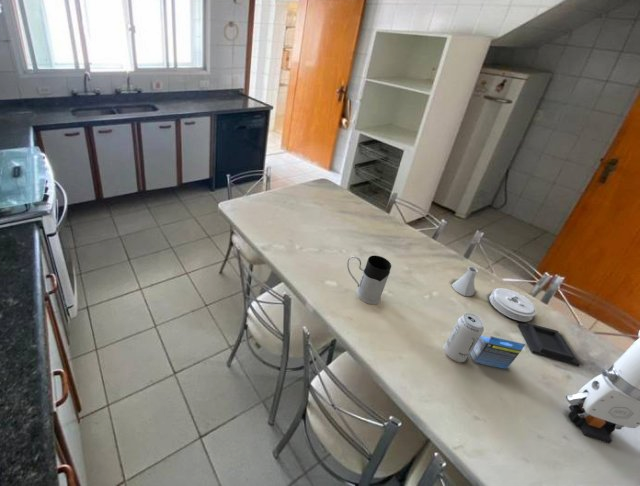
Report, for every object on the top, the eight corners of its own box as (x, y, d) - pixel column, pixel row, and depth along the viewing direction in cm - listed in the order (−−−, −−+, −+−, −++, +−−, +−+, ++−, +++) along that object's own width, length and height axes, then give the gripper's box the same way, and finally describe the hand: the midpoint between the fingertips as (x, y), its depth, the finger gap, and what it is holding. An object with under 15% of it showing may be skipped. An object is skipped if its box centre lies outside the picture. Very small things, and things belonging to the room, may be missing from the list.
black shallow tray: (559, 336, 107) (563, 331, 106) (578, 366, 98) (583, 361, 97) (517, 325, 110) (520, 319, 109) (531, 352, 101) (535, 347, 100)
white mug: (378, 308, 112) (391, 275, 105) (338, 291, 118) (347, 258, 111) (382, 292, 119) (395, 260, 112) (344, 276, 125) (353, 245, 118)
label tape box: (499, 360, 98) (518, 332, 92) (506, 372, 94) (526, 344, 89) (467, 353, 99) (484, 325, 93) (473, 365, 96) (491, 337, 90)
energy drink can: (458, 368, 94) (479, 332, 87) (438, 351, 99) (457, 316, 92) (468, 358, 97) (490, 324, 90) (448, 343, 102) (467, 308, 95)
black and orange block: (589, 416, 85) (600, 405, 83) (606, 446, 79) (619, 435, 77) (566, 409, 86) (576, 398, 84) (581, 437, 80) (593, 426, 78)
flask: (461, 281, 128) (471, 261, 123) (478, 294, 122) (489, 274, 117) (447, 284, 126) (457, 264, 121) (463, 298, 120) (474, 277, 115)
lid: (480, 298, 120) (485, 288, 118) (504, 292, 124) (510, 282, 122) (514, 326, 109) (521, 316, 107) (539, 319, 113) (547, 309, 111)
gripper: (595, 384, 73) (553, 428, 81) (694, 414, 69) (638, 457, 77) (576, 355, 79) (539, 399, 88) (666, 381, 75) (617, 424, 83)
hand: (586, 426), depth 82 cm, fingers closed on black and orange block, 5 cm apart
